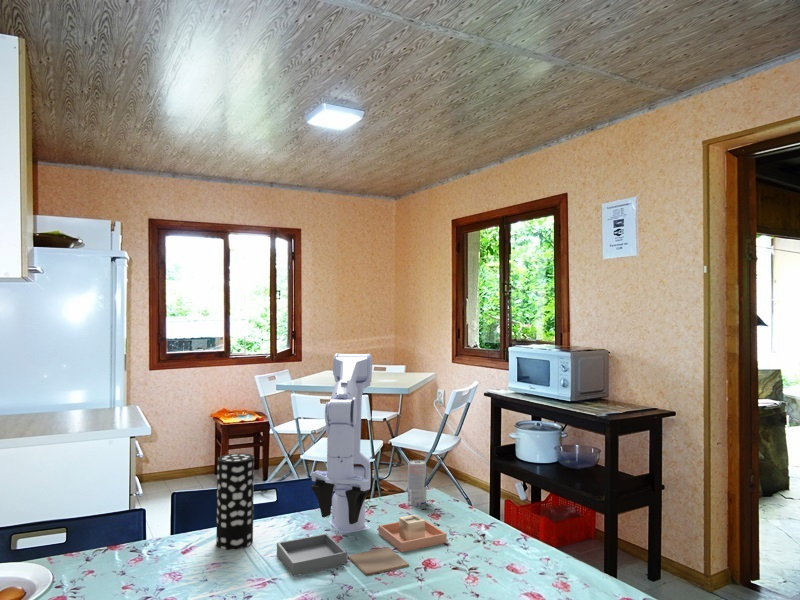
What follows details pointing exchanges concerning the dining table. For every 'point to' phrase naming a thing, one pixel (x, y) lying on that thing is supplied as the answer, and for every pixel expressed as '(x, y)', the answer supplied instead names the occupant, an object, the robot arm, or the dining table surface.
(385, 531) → the terracotta tray
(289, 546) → the charcoal tray
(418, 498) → the energy drink
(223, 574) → the dining table surface
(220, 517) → the spotted tube
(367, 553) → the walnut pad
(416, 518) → the letter cube
